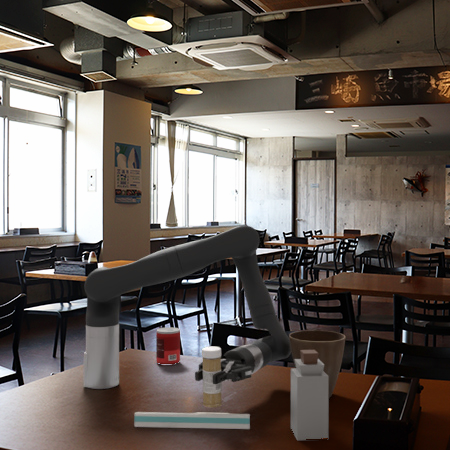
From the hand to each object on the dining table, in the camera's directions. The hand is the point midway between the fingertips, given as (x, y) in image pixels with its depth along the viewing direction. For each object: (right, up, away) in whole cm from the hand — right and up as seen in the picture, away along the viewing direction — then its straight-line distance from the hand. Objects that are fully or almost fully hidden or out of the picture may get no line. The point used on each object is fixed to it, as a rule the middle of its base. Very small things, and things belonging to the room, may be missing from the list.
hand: (205, 378), depth 124 cm
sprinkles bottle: (+2, -7, +2) cm, 8 cm away
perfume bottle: (+23, -11, -6) cm, 26 cm away
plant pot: (+29, -10, +20) cm, 37 cm away
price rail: (-3, -10, +2) cm, 11 cm away
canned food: (-14, -10, +54) cm, 56 cm away
